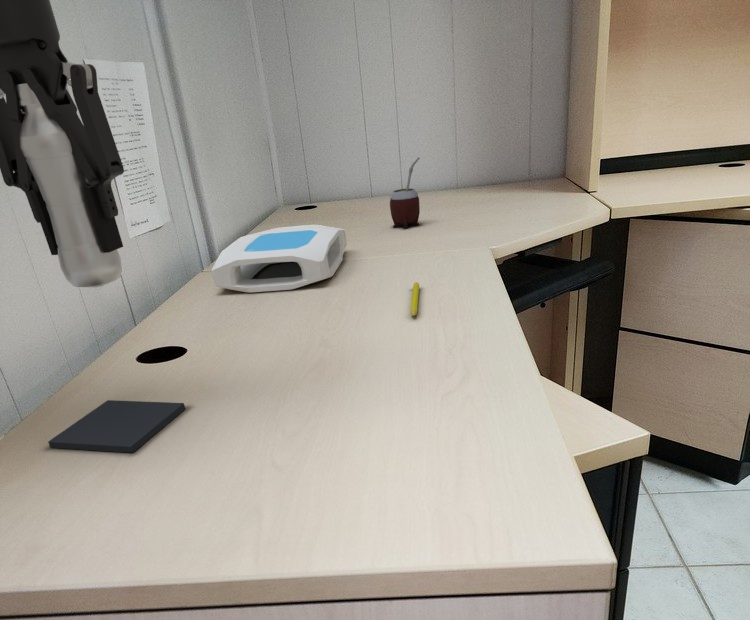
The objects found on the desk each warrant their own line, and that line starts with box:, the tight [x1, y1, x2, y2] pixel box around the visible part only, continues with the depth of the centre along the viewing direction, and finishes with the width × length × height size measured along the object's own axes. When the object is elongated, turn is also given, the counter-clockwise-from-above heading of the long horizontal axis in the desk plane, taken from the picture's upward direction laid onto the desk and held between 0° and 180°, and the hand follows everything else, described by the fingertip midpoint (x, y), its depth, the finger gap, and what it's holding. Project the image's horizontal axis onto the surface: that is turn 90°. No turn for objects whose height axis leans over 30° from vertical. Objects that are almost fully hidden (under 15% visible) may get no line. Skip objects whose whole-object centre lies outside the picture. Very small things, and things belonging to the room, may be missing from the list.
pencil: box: [409, 282, 420, 317], centre depth 106 cm, size 16×1×1 cm, turn 175°
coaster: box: [47, 399, 186, 454], centre depth 76 cm, size 11×11×1 cm
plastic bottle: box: [16, 83, 123, 288], centre depth 71 cm, size 6×7×20 cm
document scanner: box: [210, 224, 347, 293], centre depth 131 cm, size 21×28×6 cm
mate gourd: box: [389, 157, 421, 230], centre depth 156 cm, size 8×8×15 cm
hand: (87, 250), depth 75 cm, fingers closed on plastic bottle, 6 cm apart
